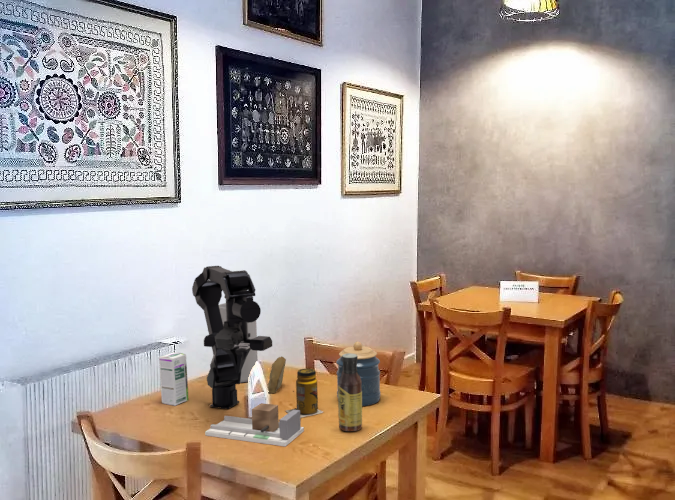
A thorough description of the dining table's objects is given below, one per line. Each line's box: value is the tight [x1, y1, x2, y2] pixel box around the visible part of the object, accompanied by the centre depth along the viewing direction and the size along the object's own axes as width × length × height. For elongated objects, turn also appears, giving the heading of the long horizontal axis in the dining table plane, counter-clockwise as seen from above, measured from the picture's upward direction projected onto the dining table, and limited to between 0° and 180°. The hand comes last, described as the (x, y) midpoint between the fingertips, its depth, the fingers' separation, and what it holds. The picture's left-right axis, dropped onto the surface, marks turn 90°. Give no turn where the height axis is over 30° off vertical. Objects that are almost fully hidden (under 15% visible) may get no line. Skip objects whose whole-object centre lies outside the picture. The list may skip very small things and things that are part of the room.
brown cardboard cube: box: [251, 402, 280, 432], centre depth 169 cm, size 5×8×6 cm, turn 158°
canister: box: [336, 341, 381, 407], centre depth 197 cm, size 13×13×18 cm
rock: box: [267, 356, 287, 394], centre depth 210 cm, size 11×9×10 cm
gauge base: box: [204, 409, 305, 447], centre depth 172 cm, size 23×11×6 cm, turn 68°
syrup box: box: [158, 352, 189, 407], centre depth 198 cm, size 6×6×14 cm
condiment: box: [285, 368, 324, 419], centre depth 187 cm, size 7×8×12 cm
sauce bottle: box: [337, 353, 363, 432], centre depth 173 cm, size 7×6×20 cm
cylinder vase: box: [219, 302, 258, 384], centre depth 222 cm, size 12×12×25 cm
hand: (238, 372), depth 183 cm, fingers closed
